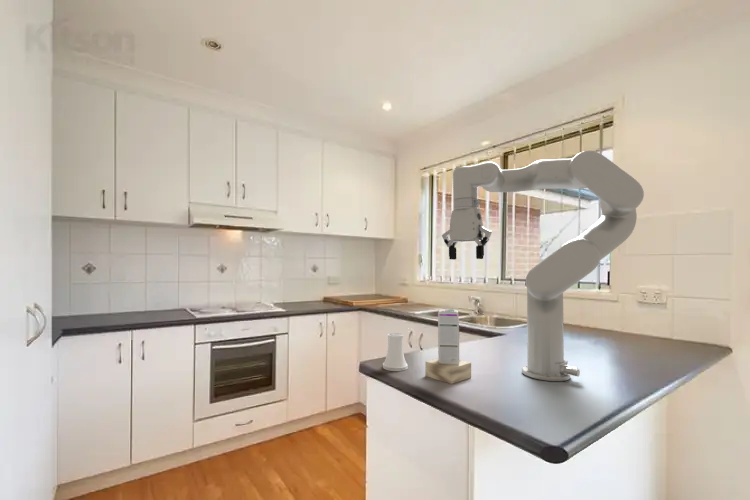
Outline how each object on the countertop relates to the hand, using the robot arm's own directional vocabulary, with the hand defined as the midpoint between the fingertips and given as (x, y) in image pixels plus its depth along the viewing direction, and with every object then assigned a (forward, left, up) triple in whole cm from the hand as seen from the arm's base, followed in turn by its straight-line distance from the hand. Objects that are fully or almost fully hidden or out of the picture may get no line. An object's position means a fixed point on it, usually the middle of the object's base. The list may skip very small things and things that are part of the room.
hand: (465, 259), depth 115 cm
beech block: (-4, +14, -33) cm, 36 cm away
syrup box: (-4, +14, -30) cm, 33 cm away
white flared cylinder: (+12, +19, -34) cm, 41 cm away
